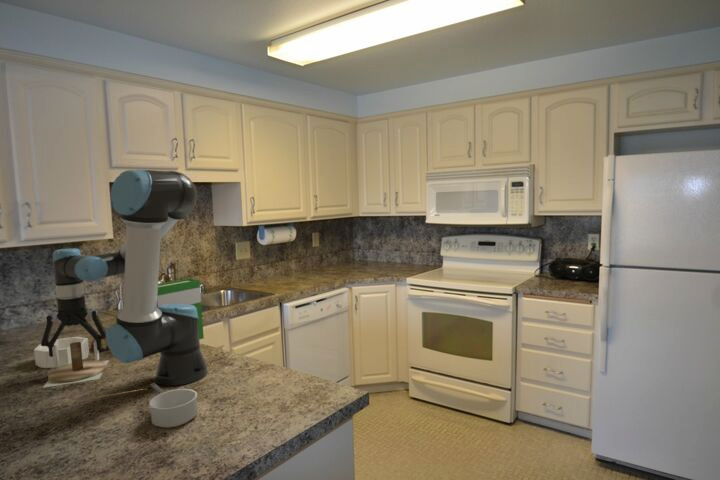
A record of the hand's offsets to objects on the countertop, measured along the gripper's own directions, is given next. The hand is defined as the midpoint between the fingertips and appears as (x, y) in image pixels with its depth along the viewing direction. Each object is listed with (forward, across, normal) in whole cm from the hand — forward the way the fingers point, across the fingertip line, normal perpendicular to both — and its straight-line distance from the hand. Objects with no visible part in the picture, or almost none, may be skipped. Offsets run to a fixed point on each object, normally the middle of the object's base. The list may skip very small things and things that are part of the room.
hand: (77, 362), depth 145 cm
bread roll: (+4, -4, -26) cm, 26 cm away
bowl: (+4, +8, -17) cm, 19 cm away
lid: (+3, 0, 0) cm, 3 cm away
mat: (+4, 0, 0) cm, 4 cm away
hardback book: (+4, -30, -21) cm, 37 cm away
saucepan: (+4, -29, +43) cm, 52 cm away
